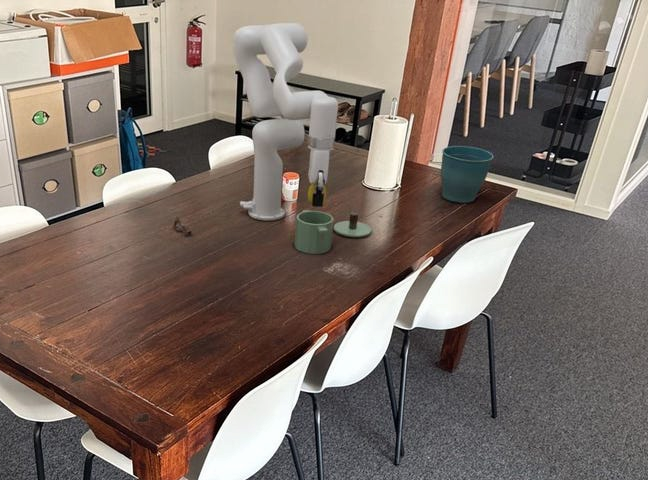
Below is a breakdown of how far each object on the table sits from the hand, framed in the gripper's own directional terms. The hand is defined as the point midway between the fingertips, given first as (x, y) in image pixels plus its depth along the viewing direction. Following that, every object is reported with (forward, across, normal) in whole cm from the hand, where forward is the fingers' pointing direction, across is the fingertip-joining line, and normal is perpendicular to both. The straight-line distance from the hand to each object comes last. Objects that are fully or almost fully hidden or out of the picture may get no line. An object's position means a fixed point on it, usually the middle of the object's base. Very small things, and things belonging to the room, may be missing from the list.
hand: (316, 202), depth 207 cm
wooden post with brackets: (+15, -8, -42) cm, 45 cm away
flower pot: (+15, -48, +59) cm, 77 cm away
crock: (+14, 0, 0) cm, 14 cm away
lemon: (+2, 0, 0) cm, 2 cm away
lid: (+14, -13, +14) cm, 24 cm away
